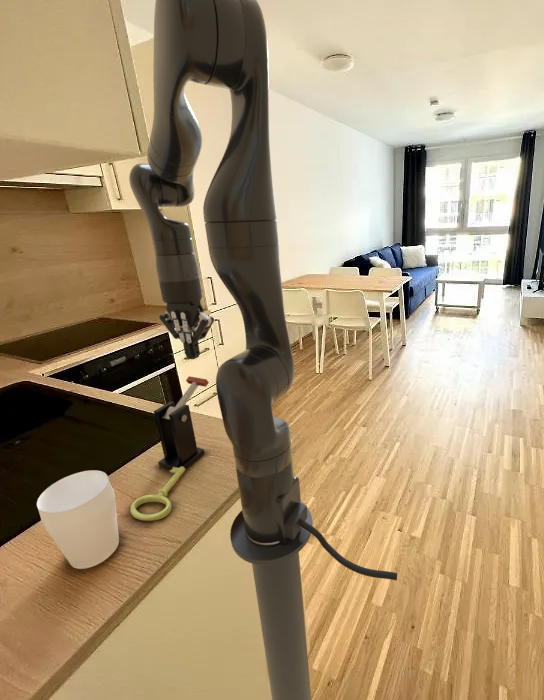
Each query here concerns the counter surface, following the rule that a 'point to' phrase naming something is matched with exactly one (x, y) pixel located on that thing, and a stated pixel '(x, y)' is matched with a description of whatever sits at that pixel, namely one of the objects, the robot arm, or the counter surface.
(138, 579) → the counter surface
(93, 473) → the cup
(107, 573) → the counter surface
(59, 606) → the counter surface
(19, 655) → the counter surface
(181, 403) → the lever
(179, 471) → the key
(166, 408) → the bracket
